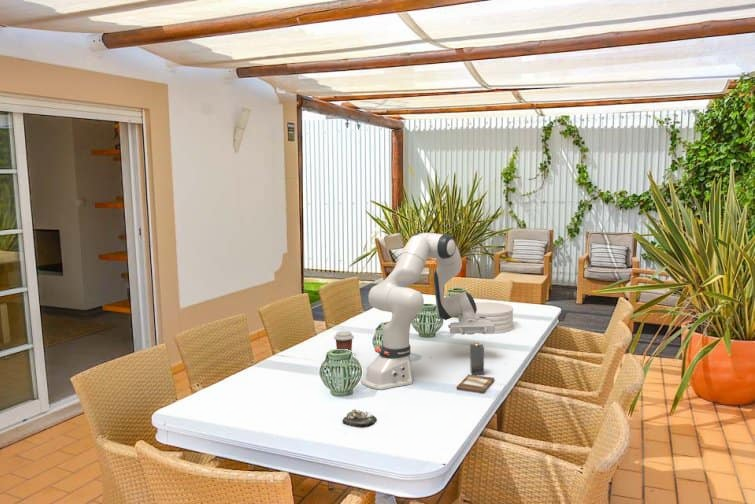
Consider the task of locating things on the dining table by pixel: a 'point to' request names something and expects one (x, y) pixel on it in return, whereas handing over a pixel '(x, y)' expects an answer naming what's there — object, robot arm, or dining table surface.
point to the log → (359, 419)
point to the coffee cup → (344, 340)
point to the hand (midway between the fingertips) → (473, 332)
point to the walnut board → (475, 383)
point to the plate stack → (496, 315)
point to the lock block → (476, 359)
